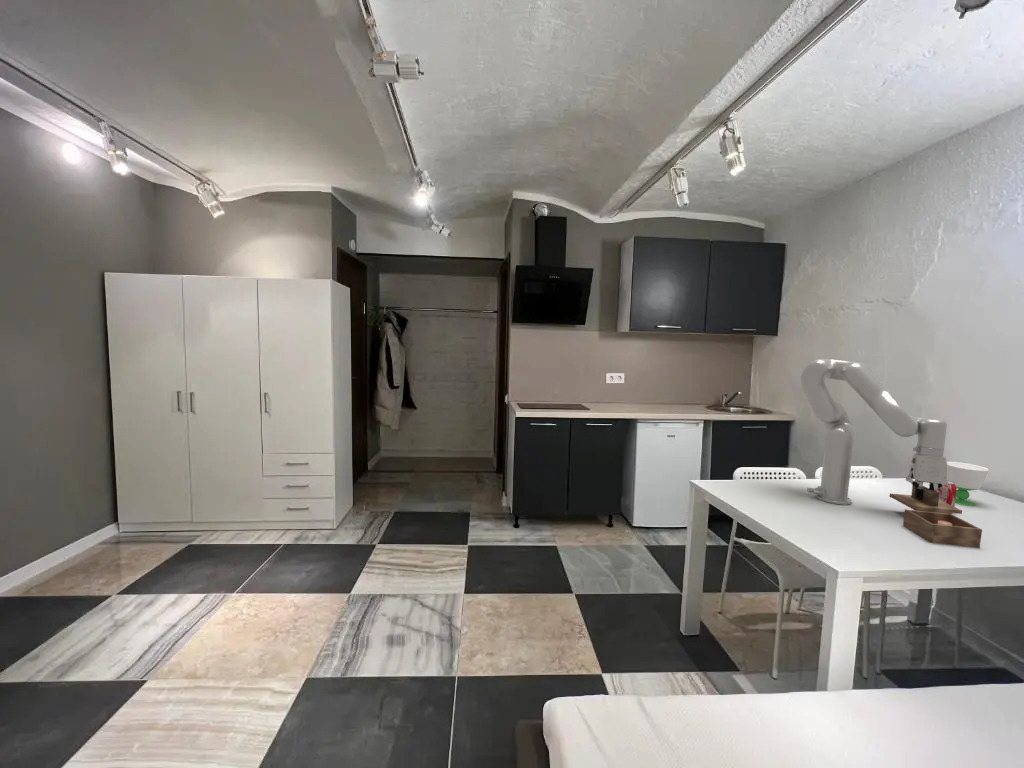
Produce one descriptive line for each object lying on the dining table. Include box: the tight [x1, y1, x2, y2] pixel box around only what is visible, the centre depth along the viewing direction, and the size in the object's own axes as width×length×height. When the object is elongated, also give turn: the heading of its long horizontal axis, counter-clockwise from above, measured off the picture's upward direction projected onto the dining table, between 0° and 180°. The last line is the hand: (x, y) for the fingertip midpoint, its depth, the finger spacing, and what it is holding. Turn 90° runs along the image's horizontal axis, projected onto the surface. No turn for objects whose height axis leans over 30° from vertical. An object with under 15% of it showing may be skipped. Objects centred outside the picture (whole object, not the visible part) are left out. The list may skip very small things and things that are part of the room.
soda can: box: [936, 480, 958, 507], centre depth 185 cm, size 7×7×12 cm
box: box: [902, 508, 983, 549], centre depth 157 cm, size 14×14×7 cm
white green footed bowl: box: [947, 461, 990, 507], centre depth 196 cm, size 14×14×16 cm
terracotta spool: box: [938, 520, 952, 526], centre depth 159 cm, size 4×4×4 cm
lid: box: [889, 484, 963, 515], centre depth 174 cm, size 15×15×7 cm
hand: (924, 499), depth 174 cm, fingers closed on lid, 3 cm apart
